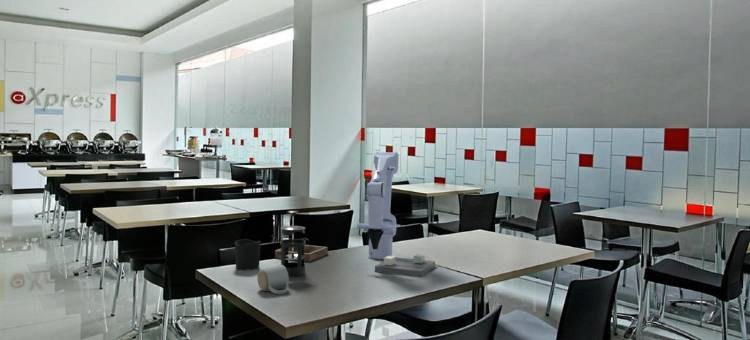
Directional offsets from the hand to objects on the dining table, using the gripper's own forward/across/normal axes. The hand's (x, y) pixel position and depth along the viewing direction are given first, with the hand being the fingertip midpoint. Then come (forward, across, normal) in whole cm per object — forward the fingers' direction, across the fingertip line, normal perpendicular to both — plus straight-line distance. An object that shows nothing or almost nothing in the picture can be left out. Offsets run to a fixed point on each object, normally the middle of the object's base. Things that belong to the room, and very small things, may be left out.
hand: (375, 248), depth 212 cm
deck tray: (+7, -36, +7) cm, 37 cm away
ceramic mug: (+8, -17, -42) cm, 46 cm away
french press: (+8, -24, -21) cm, 33 cm away
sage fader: (+5, +15, +8) cm, 18 cm away
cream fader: (+5, +6, 0) cm, 8 cm away
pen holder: (+8, -44, -20) cm, 49 cm away
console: (+8, +11, +4) cm, 14 cm away
